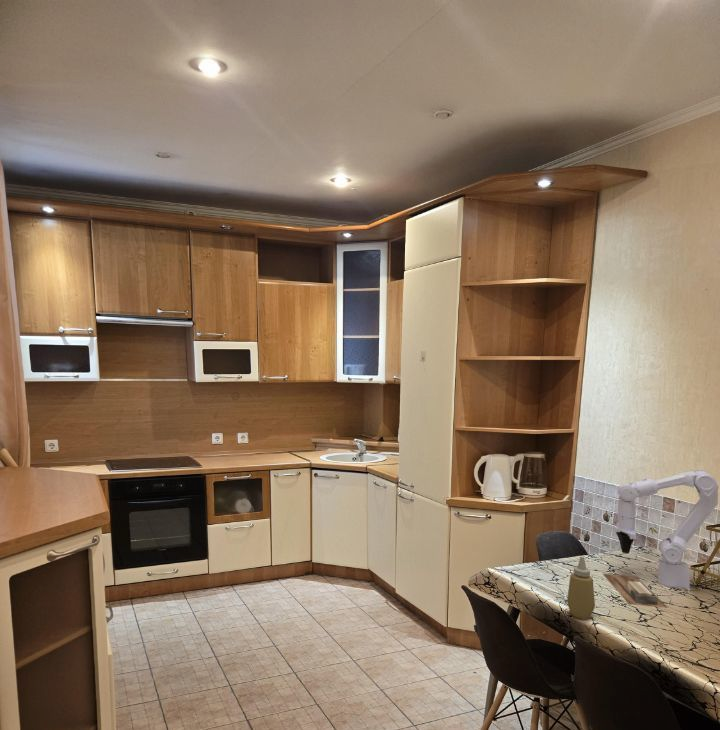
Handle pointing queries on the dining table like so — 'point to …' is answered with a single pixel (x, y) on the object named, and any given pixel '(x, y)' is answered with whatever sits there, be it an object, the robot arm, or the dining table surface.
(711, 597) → the dining table surface
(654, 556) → the dining table surface
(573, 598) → the squeeze bottle
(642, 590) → the cream rectangular block
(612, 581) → the board
